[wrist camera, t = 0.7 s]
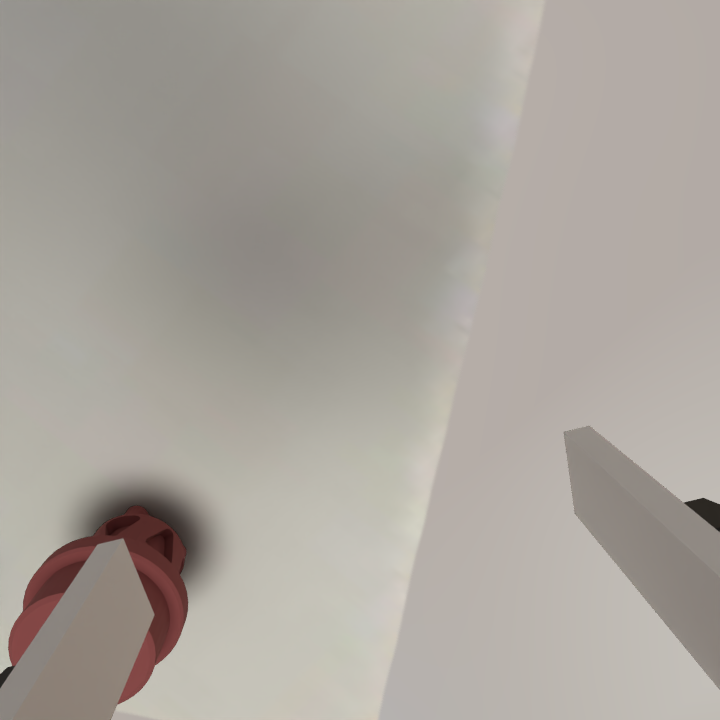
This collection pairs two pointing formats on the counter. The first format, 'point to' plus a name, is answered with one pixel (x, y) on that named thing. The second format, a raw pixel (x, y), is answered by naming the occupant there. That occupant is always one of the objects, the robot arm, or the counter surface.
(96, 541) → the mechanical component
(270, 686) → the counter surface
